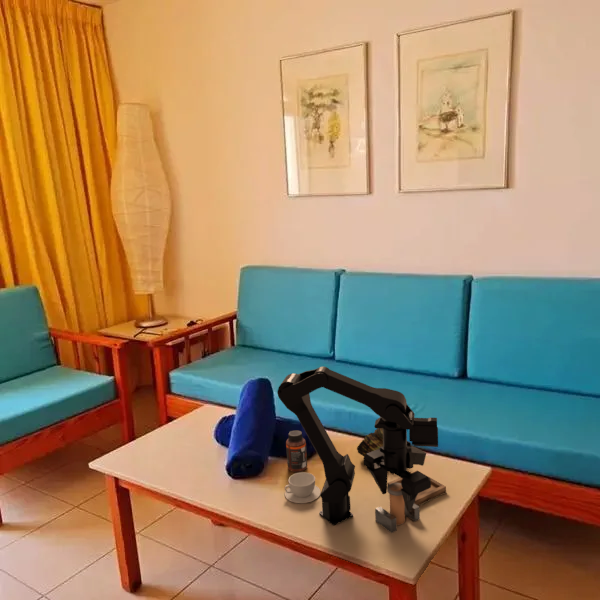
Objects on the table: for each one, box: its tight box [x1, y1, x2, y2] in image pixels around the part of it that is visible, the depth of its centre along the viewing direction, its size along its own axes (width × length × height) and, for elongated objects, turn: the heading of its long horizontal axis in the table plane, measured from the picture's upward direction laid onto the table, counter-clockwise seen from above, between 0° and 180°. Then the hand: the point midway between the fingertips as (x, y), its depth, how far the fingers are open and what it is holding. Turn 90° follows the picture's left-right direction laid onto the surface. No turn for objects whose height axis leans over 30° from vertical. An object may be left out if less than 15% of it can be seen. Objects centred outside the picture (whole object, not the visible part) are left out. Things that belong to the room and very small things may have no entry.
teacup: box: [284, 471, 322, 504], centre depth 154 cm, size 10×10×5 cm
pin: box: [387, 483, 406, 526], centre depth 139 cm, size 5×5×9 cm
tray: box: [387, 469, 447, 507], centre depth 152 cm, size 11×11×2 cm
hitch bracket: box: [374, 502, 421, 534], centre depth 139 cm, size 9×6×4 cm, turn 122°
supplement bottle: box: [285, 430, 308, 473], centre depth 167 cm, size 6×6×11 cm
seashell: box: [356, 428, 383, 457], centre depth 170 cm, size 11×11×10 cm
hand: (396, 501), depth 139 cm, fingers open, 9 cm apart
